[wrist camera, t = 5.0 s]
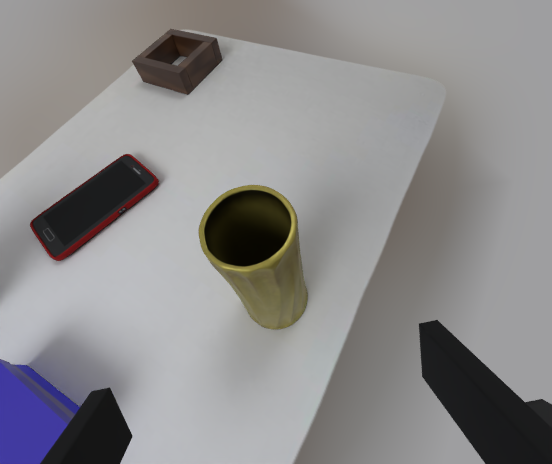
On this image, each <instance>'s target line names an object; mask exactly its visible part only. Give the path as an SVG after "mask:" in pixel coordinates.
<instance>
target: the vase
mask: <svg viewBox="0 0 552 464" xmlns="http://www.w3.org/2000/svg"><path fill="white" fill-rule="evenodd" d="M199 238H200V244H201V247H202V250H203V252H204V254H205V255H206V257H207V258H208V260H209V261H210V263H211V264H212V265H213V266H214V268H215V269H216V270H217V271H218V272H219V273H220V274H221V275H222V276H223V277H224V278H225V279H226V281H227V282H228V283H229V284H230V285H231V286H232V288H233V289H234V291H235V292H236V294H237V295H238V296H239V298H240V300H241V301H242V303H243V305H244V306H245V308H246V309H247V311H248V314H249V315H250V317H251V318H252V319H253V320H254V321H255V322H257V323H258V324H259V325H261V326H262V327H265V328H269V329H282V328H285V327H288V326H290V325H292V324H294V323H295V322H296V321H297V320H298V319H299V318H300V317H301V315H302V314H303V312H304V310H305V308H306V304H307V297H308V295H307V289H306V286H305V281H304V277H303V270H302V262H301V255H300V246H299V236H298V221H297V216H296V213H295V211H294V209H293V207H292V205H291V203H290V202H289V201H288V200H287V199H286V198H285V197H284V196H283V195H282V194H280V193H279V192H277V191H275V190H273V189H271V188H269V187H265V186H260V185H247V186H242V187H238V188H234V189H231V190H229V191H227V192H225V193H224V194H222V195H221V196H219V197H218V198H217V199H216V200H215V201H214V202H213V203H212V204H211V205H210V206H209V208H208V209H207V210H206V212H205V213H204V215H203V218H202V220H201V223H200V226H199Z"/></svg>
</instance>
